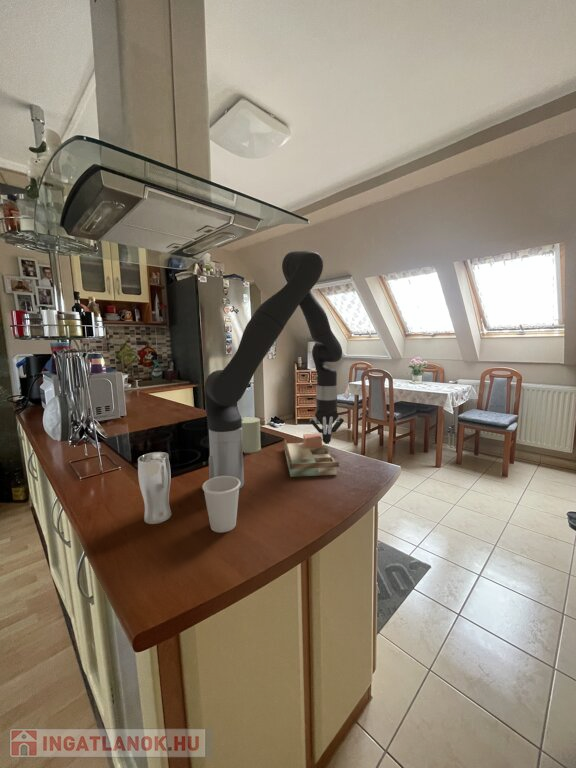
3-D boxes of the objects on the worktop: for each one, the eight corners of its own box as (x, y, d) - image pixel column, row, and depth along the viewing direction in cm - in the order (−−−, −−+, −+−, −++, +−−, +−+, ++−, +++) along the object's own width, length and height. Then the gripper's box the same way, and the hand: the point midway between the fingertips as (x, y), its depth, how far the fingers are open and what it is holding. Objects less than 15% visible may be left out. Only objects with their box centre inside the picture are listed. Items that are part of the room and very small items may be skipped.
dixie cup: (201, 520, 74) (199, 479, 73) (236, 511, 77) (235, 473, 76) (208, 540, 67) (205, 495, 65) (246, 530, 70) (245, 487, 68)
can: (235, 446, 125) (234, 416, 123) (258, 444, 127) (257, 414, 126) (238, 454, 116) (237, 422, 114) (263, 451, 119) (262, 420, 117)
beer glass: (163, 506, 80) (159, 449, 78) (179, 515, 76) (175, 455, 74) (136, 518, 75) (131, 457, 73) (151, 529, 71) (146, 465, 69)
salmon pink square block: (305, 448, 114) (305, 439, 114) (303, 443, 120) (303, 434, 120) (322, 447, 115) (322, 438, 114) (319, 442, 121) (319, 433, 120)
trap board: (290, 476, 97) (290, 464, 96) (284, 449, 120) (284, 439, 120) (338, 474, 98) (338, 462, 97) (323, 448, 122) (323, 438, 121)
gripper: (310, 399, 111) (310, 447, 113) (347, 398, 112) (346, 445, 114) (307, 396, 118) (307, 440, 121) (342, 395, 119) (341, 439, 122)
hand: (326, 443), depth 118 cm, fingers closed
